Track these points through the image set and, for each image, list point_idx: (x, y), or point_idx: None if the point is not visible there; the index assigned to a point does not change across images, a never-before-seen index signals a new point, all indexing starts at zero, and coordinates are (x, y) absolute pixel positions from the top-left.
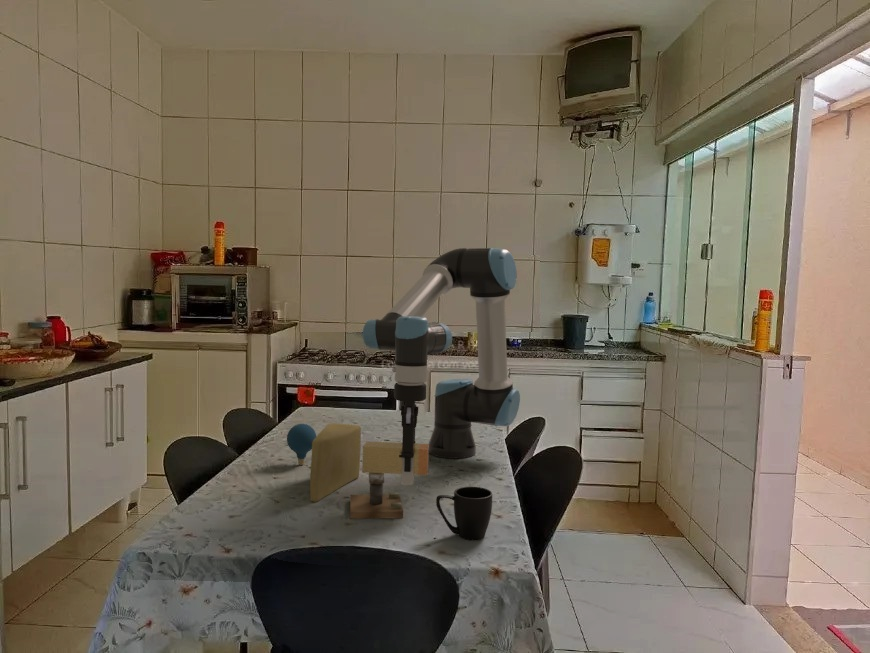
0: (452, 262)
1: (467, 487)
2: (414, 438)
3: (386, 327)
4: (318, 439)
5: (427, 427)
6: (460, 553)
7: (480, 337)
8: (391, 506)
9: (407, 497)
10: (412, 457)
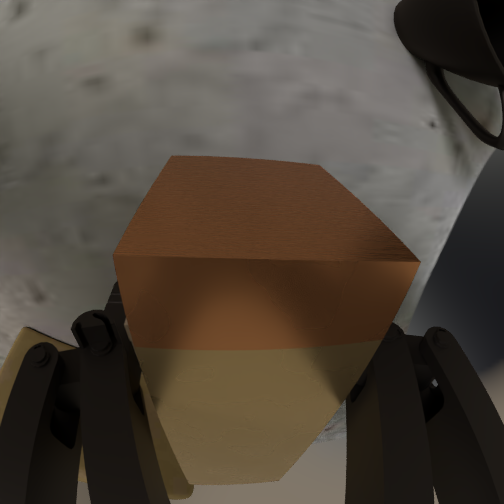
0: None
1: (478, 12)
2: (131, 432)
3: None
4: (175, 498)
5: None
6: (489, 93)
7: None
8: None
9: (101, 199)
10: (391, 325)
